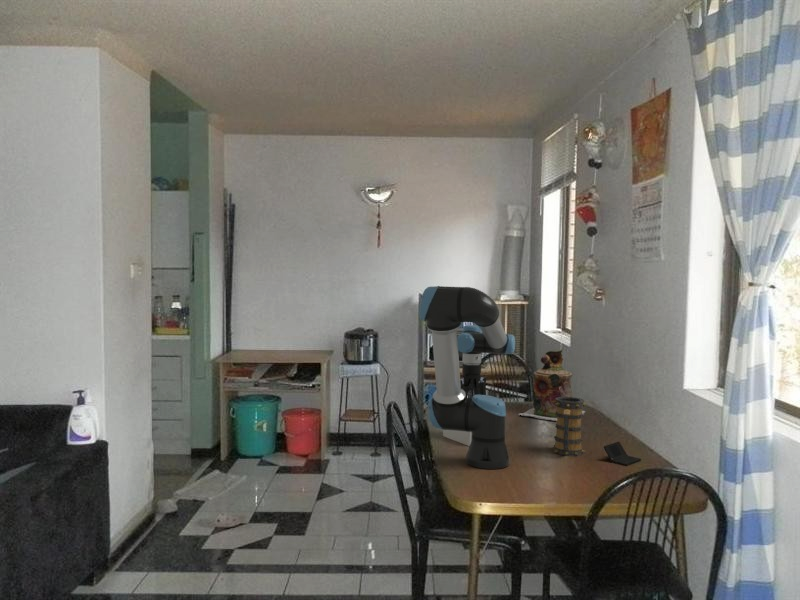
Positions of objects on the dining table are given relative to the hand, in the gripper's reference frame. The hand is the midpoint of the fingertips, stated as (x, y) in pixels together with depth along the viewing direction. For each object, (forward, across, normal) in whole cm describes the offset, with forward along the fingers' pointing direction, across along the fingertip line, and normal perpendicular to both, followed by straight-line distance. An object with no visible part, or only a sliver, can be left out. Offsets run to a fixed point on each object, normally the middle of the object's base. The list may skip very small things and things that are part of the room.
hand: (470, 420), depth 265 cm
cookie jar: (+8, +62, +18) cm, 65 cm away
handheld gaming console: (+8, +31, -50) cm, 59 cm away
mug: (+8, +20, -34) cm, 40 cm away
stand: (+7, 0, 0) cm, 7 cm away
